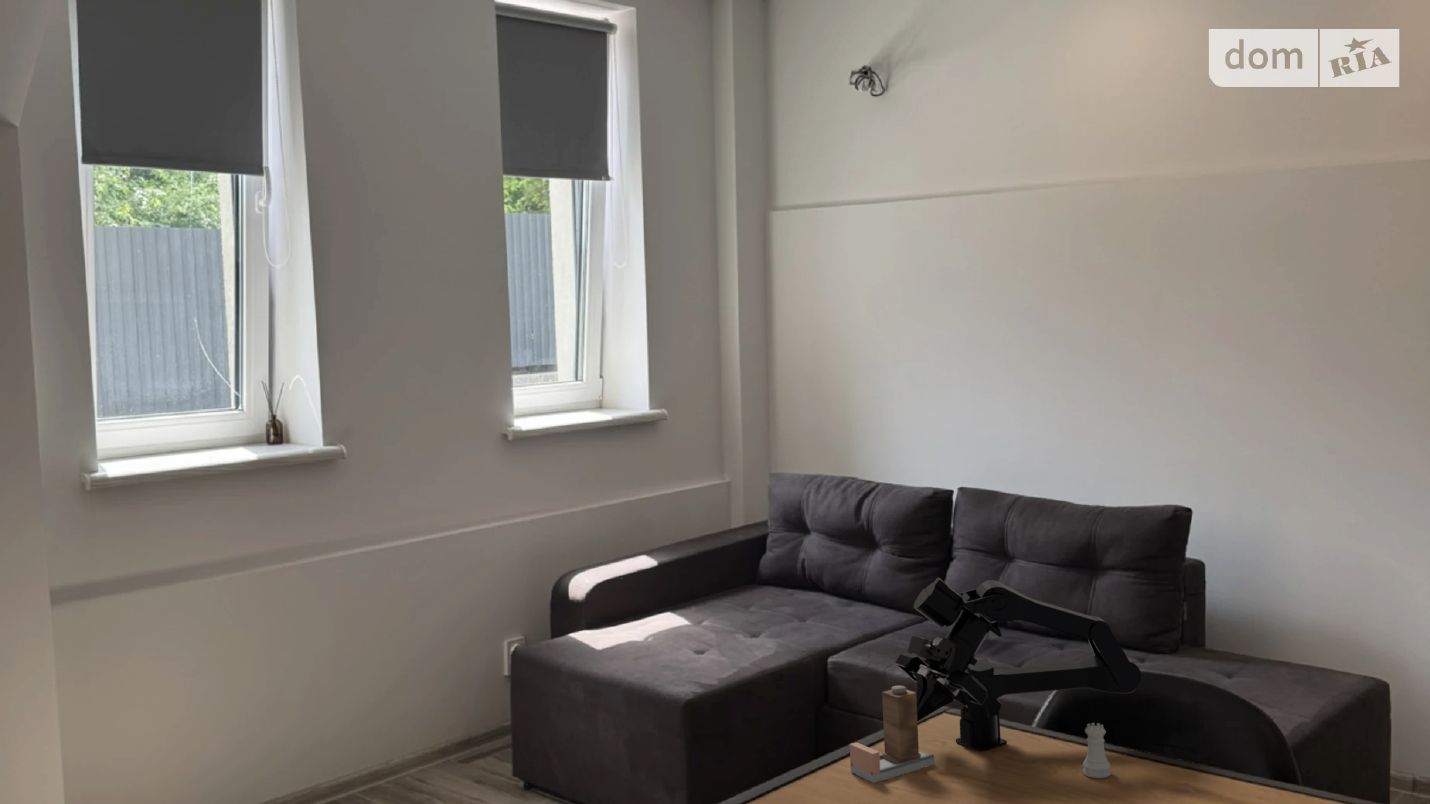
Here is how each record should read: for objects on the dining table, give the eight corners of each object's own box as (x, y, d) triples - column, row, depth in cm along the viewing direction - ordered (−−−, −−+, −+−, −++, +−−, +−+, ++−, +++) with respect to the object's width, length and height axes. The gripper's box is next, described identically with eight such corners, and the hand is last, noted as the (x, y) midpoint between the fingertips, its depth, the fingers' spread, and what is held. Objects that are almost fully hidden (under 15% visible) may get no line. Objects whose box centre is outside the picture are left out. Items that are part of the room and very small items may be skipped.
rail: (911, 754, 204) (909, 727, 204) (934, 764, 199) (933, 736, 199) (851, 772, 197) (849, 744, 197) (873, 783, 192) (872, 753, 192)
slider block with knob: (905, 751, 202) (902, 682, 201) (920, 758, 199) (917, 687, 198) (883, 758, 200) (879, 687, 199) (898, 764, 196) (895, 693, 195)
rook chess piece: (1113, 779, 188) (1111, 730, 188) (1083, 779, 189) (1082, 729, 189) (1109, 769, 193) (1108, 721, 192) (1081, 768, 194) (1079, 720, 193)
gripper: (900, 607, 211) (852, 680, 207) (969, 626, 195) (919, 706, 190) (938, 643, 215) (892, 716, 211) (1008, 665, 199) (960, 744, 194)
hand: (914, 719), depth 201 cm, fingers closed
